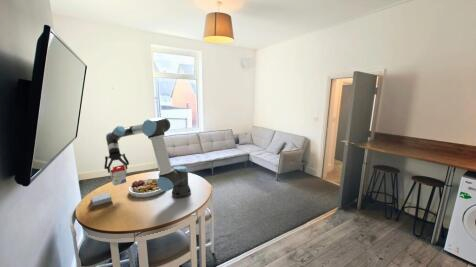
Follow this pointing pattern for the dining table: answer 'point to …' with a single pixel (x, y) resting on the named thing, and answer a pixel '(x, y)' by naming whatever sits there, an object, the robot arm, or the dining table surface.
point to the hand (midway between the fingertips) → (118, 174)
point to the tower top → (101, 198)
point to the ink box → (118, 175)
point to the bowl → (145, 188)
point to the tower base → (101, 205)
